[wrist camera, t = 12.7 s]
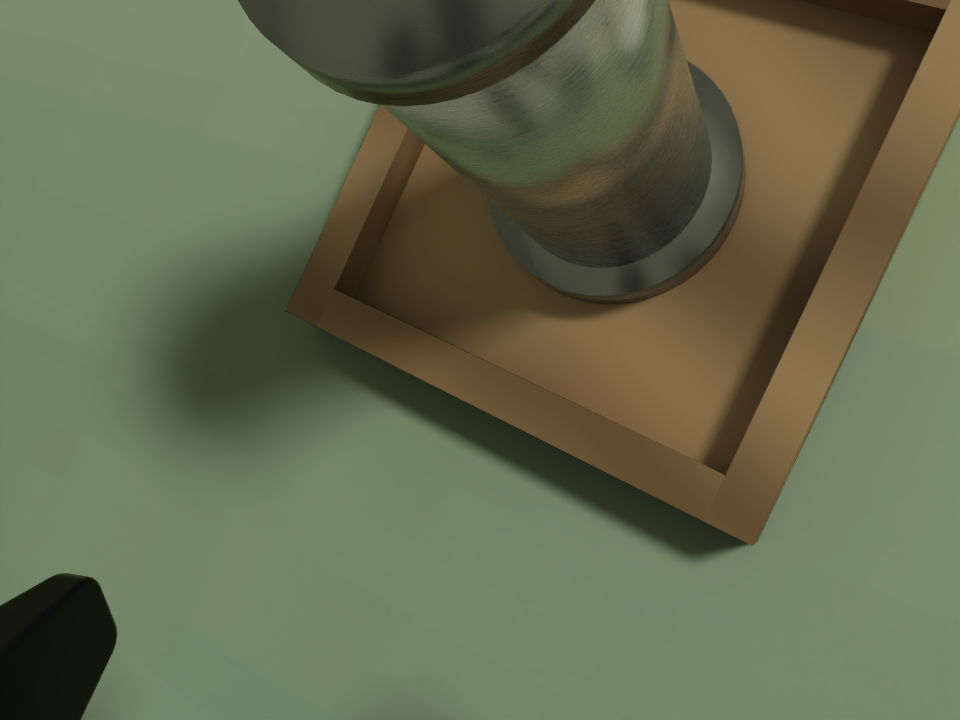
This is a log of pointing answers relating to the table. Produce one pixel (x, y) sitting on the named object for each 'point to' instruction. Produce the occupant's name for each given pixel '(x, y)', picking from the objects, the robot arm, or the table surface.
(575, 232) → the glass jar
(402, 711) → the table surface
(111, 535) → the table surface
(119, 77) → the table surface
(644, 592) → the table surface
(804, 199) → the walnut keeper tray
